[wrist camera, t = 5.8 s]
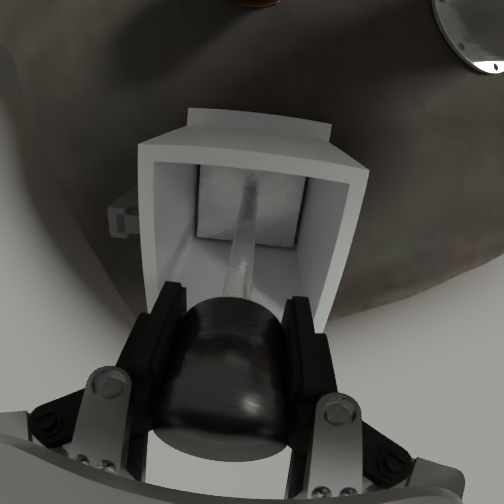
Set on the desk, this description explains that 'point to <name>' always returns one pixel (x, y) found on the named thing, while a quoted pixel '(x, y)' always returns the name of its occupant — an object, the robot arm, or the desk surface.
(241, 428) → the plunger
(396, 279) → the desk surface
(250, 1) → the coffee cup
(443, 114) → the desk surface
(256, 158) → the press housing
